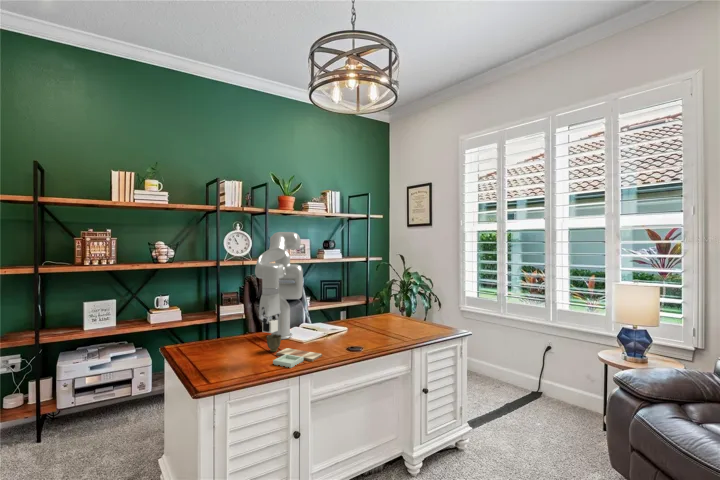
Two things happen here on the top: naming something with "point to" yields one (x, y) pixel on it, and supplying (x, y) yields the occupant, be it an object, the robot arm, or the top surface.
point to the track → (300, 354)
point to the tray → (288, 360)
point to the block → (272, 326)
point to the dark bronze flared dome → (273, 342)
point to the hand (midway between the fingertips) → (270, 329)
